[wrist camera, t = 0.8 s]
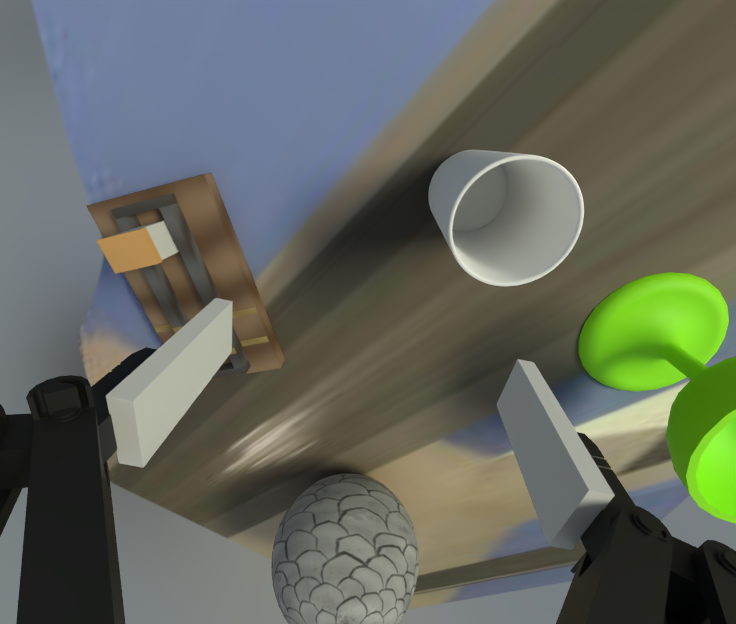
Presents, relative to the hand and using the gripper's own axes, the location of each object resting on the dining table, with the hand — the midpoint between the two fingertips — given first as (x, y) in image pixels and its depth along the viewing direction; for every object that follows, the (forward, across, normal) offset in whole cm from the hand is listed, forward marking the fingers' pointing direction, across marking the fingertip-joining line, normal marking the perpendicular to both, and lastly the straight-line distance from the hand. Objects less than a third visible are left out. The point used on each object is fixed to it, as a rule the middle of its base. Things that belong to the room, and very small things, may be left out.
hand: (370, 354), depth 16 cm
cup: (+25, +8, +5) cm, 27 cm away
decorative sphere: (+25, +4, -42) cm, 49 cm away
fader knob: (+23, -24, -5) cm, 33 cm away
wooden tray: (+25, -21, -12) cm, 35 cm away
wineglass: (+25, +34, -6) cm, 42 cm away
